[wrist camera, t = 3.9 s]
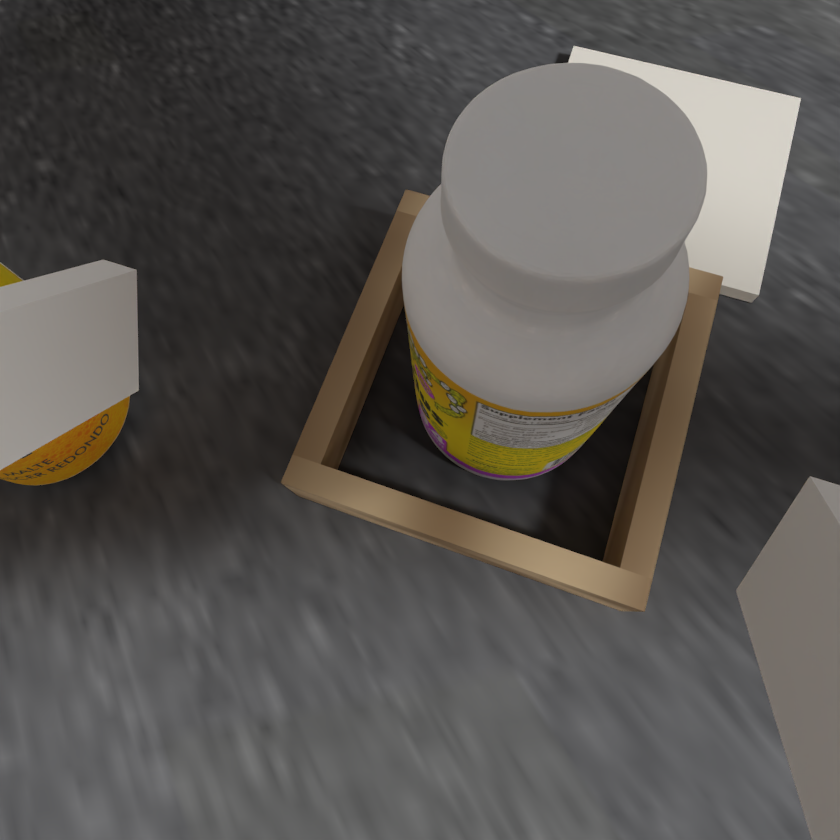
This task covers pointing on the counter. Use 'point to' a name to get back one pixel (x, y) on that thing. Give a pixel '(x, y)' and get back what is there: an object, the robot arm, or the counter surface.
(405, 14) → the counter surface
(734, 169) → the plate
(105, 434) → the beer can
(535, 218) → the supplement bottle
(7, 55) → the counter surface
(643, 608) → the oak holder
